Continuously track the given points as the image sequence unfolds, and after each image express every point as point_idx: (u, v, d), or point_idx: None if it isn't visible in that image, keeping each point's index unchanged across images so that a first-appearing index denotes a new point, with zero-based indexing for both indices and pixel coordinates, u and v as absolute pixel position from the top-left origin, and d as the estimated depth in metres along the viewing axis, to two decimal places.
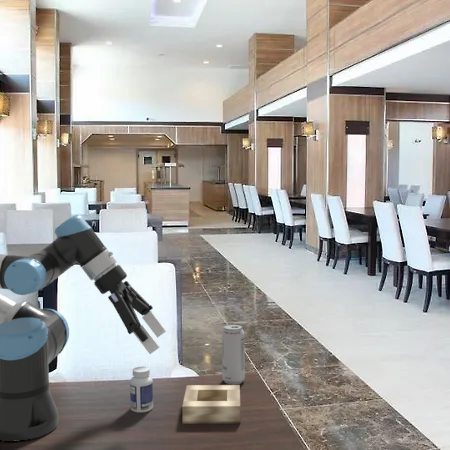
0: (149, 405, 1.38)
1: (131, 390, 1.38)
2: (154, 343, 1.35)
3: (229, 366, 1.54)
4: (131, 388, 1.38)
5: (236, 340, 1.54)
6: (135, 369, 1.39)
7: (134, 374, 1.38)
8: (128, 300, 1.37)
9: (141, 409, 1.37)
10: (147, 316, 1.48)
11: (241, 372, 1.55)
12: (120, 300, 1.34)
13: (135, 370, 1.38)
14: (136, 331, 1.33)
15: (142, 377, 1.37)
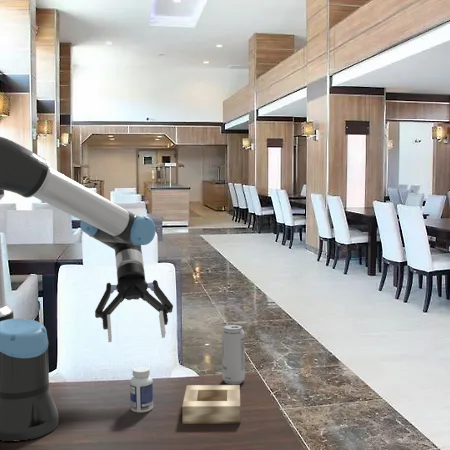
0: (149, 405, 1.38)
1: (131, 390, 1.38)
2: None
3: (229, 366, 1.54)
4: (131, 388, 1.38)
5: (236, 340, 1.54)
6: (135, 369, 1.39)
7: (134, 374, 1.38)
8: None
9: (141, 409, 1.37)
10: None
11: (241, 372, 1.55)
12: None
13: (135, 370, 1.38)
14: (166, 313, 1.55)
15: (142, 377, 1.37)
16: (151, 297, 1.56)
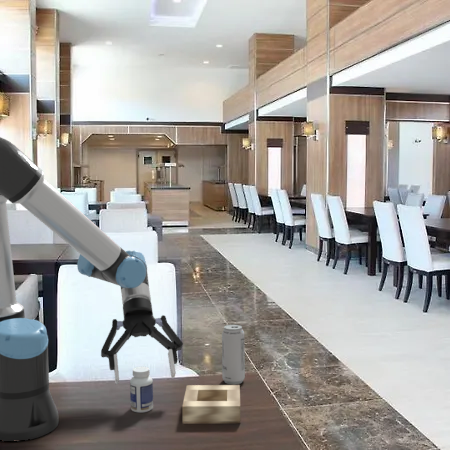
0: (149, 405, 1.38)
1: (131, 390, 1.38)
2: None
3: (228, 366, 1.54)
4: (131, 388, 1.38)
5: (236, 340, 1.54)
6: (135, 369, 1.39)
7: (134, 374, 1.38)
8: None
9: (141, 409, 1.37)
10: None
11: (241, 372, 1.55)
12: None
13: (135, 370, 1.38)
14: (176, 351, 1.47)
15: (142, 377, 1.37)
16: (159, 334, 1.48)
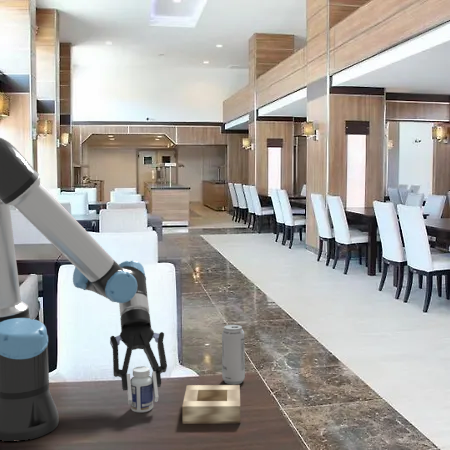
0: (149, 405, 1.38)
1: (131, 390, 1.38)
2: None
3: (229, 366, 1.54)
4: (131, 388, 1.38)
5: (236, 340, 1.54)
6: (135, 369, 1.39)
7: (134, 374, 1.38)
8: None
9: (141, 409, 1.37)
10: None
11: (241, 372, 1.55)
12: None
13: (135, 370, 1.38)
14: (160, 373, 1.41)
15: (142, 377, 1.37)
16: (150, 351, 1.43)
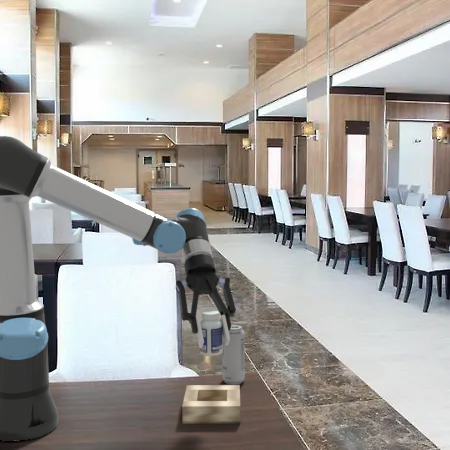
0: (219, 349, 1.35)
1: None
2: None
3: (229, 366, 1.54)
4: None
5: (236, 340, 1.54)
6: (204, 312, 1.36)
7: (204, 317, 1.35)
8: None
9: (212, 352, 1.34)
10: None
11: (241, 372, 1.55)
12: None
13: (205, 313, 1.35)
14: None
15: (212, 320, 1.34)
16: (218, 296, 1.40)
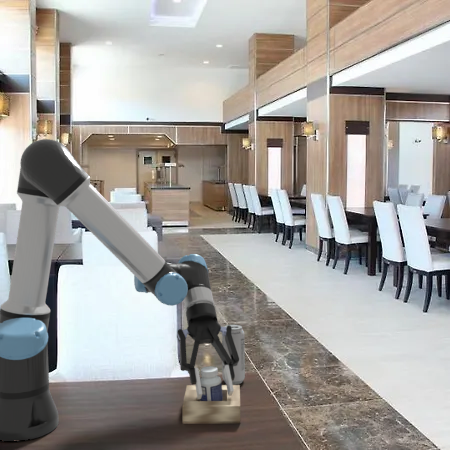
0: None
1: None
2: None
3: None
4: None
5: (236, 340, 1.54)
6: (203, 369, 1.37)
7: (203, 374, 1.35)
8: None
9: None
10: None
11: (241, 372, 1.55)
12: None
13: (203, 370, 1.36)
14: None
15: (211, 377, 1.35)
16: (220, 345, 1.41)
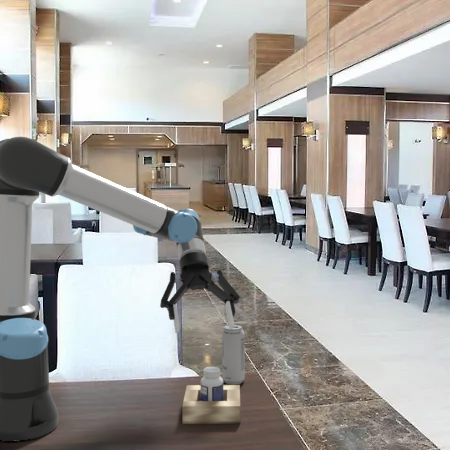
0: None
1: (202, 390, 1.36)
2: None
3: (229, 366, 1.54)
4: (202, 388, 1.36)
5: (236, 340, 1.54)
6: (206, 369, 1.37)
7: (205, 374, 1.36)
8: None
9: None
10: None
11: (241, 372, 1.55)
12: None
13: (206, 370, 1.36)
14: None
15: (214, 377, 1.35)
16: (217, 287, 1.50)
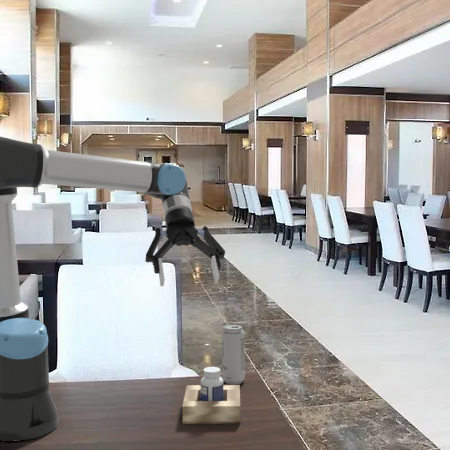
0: None
1: (202, 391, 1.36)
2: None
3: (229, 366, 1.54)
4: (202, 388, 1.36)
5: (236, 340, 1.54)
6: (206, 369, 1.37)
7: (205, 374, 1.36)
8: None
9: None
10: None
11: (241, 372, 1.55)
12: None
13: (206, 370, 1.36)
14: None
15: (214, 377, 1.35)
16: (202, 242, 1.50)
